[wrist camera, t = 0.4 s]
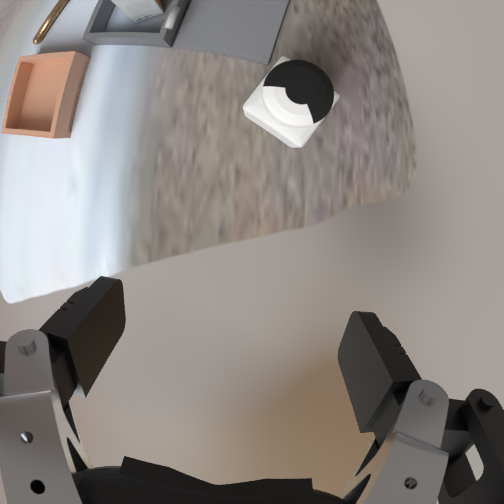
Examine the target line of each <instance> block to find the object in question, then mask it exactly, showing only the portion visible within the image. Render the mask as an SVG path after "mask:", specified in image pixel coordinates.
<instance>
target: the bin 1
mask: <svg viewBox="0 0 504 504" xmlns="http://www.w3.org/2000/svg"><path fill="white" fill-rule="evenodd" d="M89 60H90V57H88V56H86V55H84V54H81V53H79V52H77V51H68V52H55V53H45V54H37V55H29V56H22V57H19V60H18V63H17V66H16V70H15V73H14V77H13V81H12V84H11V88H10V92H9V97H8V101H7V106H6V111H5V116H4V121H3V127H2V133H3V134H15V135H26V136H36V137H45V138H53V139H54V138H70V133H71V128H72V123H73V119H74V114H75V110H76V105H77V101H78V97H79V94H80V90H81V86H82V83H83V79H84V76H85V72H86V69H87V66H88V63H89Z"/></svg>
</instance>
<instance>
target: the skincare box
mask: <svg viewBox="0 0 504 504" xmlns="http://www.w3.org/2000/svg"><path fill="white" fill-rule="evenodd" d="M111 1H112V2H113V3H114V4H115V5H117V6H118V7H119V8H120V9H121V10H122V11H123V12H124V13H125V14H126V15H127V16H128V17H129V18H130V19H131V20H132V21H133V22H134V23H138V22H141V21H143V20H146V19H148V18H151V17H153V16H156V15H159V14H162V13H163V12H164V11H163V8H162V3H161V0H111Z"/></svg>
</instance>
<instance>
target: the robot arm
mask: <svg viewBox="0 0 504 504" xmlns="http://www.w3.org/2000/svg"><path fill="white" fill-rule="evenodd" d="M125 321H126V317H125V306H124V294H123V284H122V281H121V280H120V279H114V278H109V277H104V276H100V277H99V278H98V279H97V280H96V281H95V282H94V283H93V284H92V285H91V286H90V287H89V288H88V287H86V288H84V289H81V290H79V291H77V292H75V293H74V294H73V295H72V296H71V297H70V298H69V299H68V300H67V302H65V303H64V304H63V305H62V306H61V307H60V309H58V310H57V311H56V312H55V313H54V314H53V315H52V316H51V318H50V319H48V321H47V322H46V323H45V324H44V325H43V326H42V327H41V328H40V329H39V330H33V329H28V330H23V331H20V332H17V333H16V334H14V335H13V336H11V338H9V340H8V341H7V342H4V341H0V468H1V474H2V480H3V485H4V490H5V494H6V498H7V503H8V504H436V501H437V498H438V501H439V504H504V410H503V409H502V407H501V405H500V403H499V401H498V400H497V399H496V397H495V396H494V395H493V394H491V393H490V392H488V391H486V390H483V389H474V390H473V391H471V392H470V394H469V395H468V397H467V398H466V400H465V401H463V400H455V399H449V398H448V395H447V394H446V392H445V391H444V389H442V387H440V386H439V385H437V384H436V383H434V382H432V381H429V380H422V379H421V377H420V375H419V374H418V372H417V370H416V369H415V367H414V365H413V363H412V362H411V360H410V358H409V357H408V355H406V352H405V350H404V349H403V347H401V344H400V342H399V340H398V339H397V337H396V336H395V335H394V334H393V333H392V332H391V331H390V330H388V329H387V328H386V327H383V326H382V324H381V322H380V321H379V319H378V317H377V316H376V314H375V313H373V312H360V311H354V312H353V313H352V314H351V316H350V318H349V321H348V324H347V327H346V329H345V332H344V335H343V338H342V341H341V343H340V346H339V350H338V362H339V366H340V369H341V372H342V375H343V378H344V381H345V384H346V387H347V390H348V393H349V397H350V400H351V403H352V406H353V410H354V413H355V416H356V420H357V423H358V426H359V430H360V433H365V432H374V434H375V437H374V439H373V440H372V442H371V443H370V445H369V447H368V449H367V451H366V453H365V455H364V456H363V458H362V460H361V462H360V463H359V465H358V467H357V469H356V470H355V472H354V474H353V475H352V477H351V479H350V480H349V482H348V483H347V485H346V486H345V487H344V489H343V490H342V491H341V492H340V493H339V495H338V496H335V495H332V494H330V493H327V492H323V491H320V490H315V489H313V487H312V479H311V478H307V479H262V480H256V481H249V482H242V483H234V484H225V485H214V484H211V483H208V482H205V481H202V480H200V479H197V478H194V477H192V476H189V475H187V474H184V473H182V472H179V471H177V470H174V469H172V468H170V467H166V466H161V465H157V464H153V463H148V462H145V461H141V460H137V459H133V458H129V457H126V456H124V459H123V462H122V465H121V466H104V467H96V468H93V466H92V464H91V462H90V460H89V458H88V456H87V454H86V451H85V449H84V445H83V443H82V439H81V436H80V433H79V430H78V427H77V424H76V420H75V416H74V413H73V409H72V405H71V403H70V398H71V397H72V395H73V394H76V395H79V396H82V397H84V398H86V396H87V394H88V392H89V391H90V389H91V387H92V385H93V384H94V382H95V380H96V378H97V376H98V375H99V373H100V371H101V369H102V368H103V366H104V364H105V363H106V361H107V359H108V357H109V356H110V354H111V352H112V351H113V349H114V347H115V345H116V344H117V342H118V341H119V339H120V337H121V336H122V333H123V332H124V328H125ZM474 444H475V446H476V448H477V451H478V453H479V455H480V457H481V460H482V462H483V465H484V470H483V474H482V476H481V477H480V479H479V480H477V481H476V479H475V476H474V474H473V471H472V469H471V467H470V464H469V461H468V459H467V456H466V454H465V453H466V452H467V451H468V450H469V449H470V448H471V447H472V446H473V445H474Z"/></svg>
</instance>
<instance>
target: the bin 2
mask: <svg viewBox="0 0 504 504" xmlns="http://www.w3.org/2000/svg"><path fill="white" fill-rule="evenodd" d="M189 1H190V0H173V1H172V3H171V5H170V8H169V10H168V12H167V15H166V17H165V20H164V22H163V25H162V27H161V30H160V32H159V33H147V32H104V30H105V28H106V25H107V23H108V21H109V18H110V16H111V13H112V11H113V9H114V7H115V4H114V3H113V2H112V1H111V0H99V1H98V3H97V5H96V7H95V9H94V12H93V14H92V16H91V18H90V21H89V23H88V26H87V28H86V31H85V33H84V36H83V38H82V39H84V40H86V41H88V42H90V43H92V44H94V45H141V46H156V47H168V48H171V46H172V44H173V41H174V38H175V35H176V33H177V30H178V28H179V25H180V22H181V20H182V17H183V15H184V13H185V10H186V8H187V5H188V3H189ZM288 2H289V0H192V1H191V3H190V5H189V8H188V10H187V13H186V15H185V18H184V20H183V23H182V25H181V28H180V30H179V33H178V36H177V38H176V41H175V44H174V48H177V49H186V50H193V51H200V52H207V53H213V54H219V55H224V56H229V57H234V58H239V59H244V60H248V61H253V62H257V63H261V64H265V65H268V63H269V60H270V57H271V53H272V50H273V47H274V44H275V41H276V38H277V35H278V32H279V29H280V26H281V23H282V19H283V16H284V14H285V11H286V8H287V5H288Z"/></svg>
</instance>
